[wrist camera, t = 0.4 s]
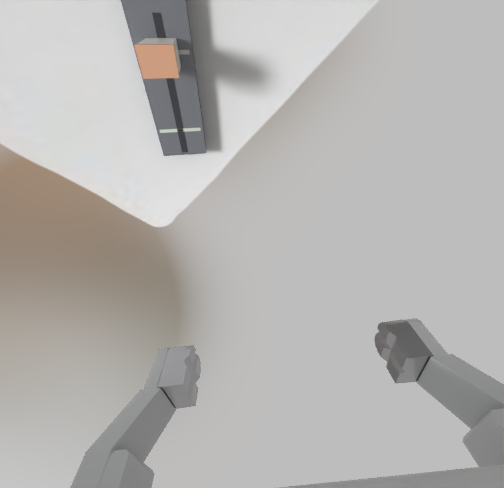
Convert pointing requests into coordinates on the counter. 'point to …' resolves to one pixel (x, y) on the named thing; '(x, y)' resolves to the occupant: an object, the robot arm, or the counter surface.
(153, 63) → the fader
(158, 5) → the fader console
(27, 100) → the counter surface
